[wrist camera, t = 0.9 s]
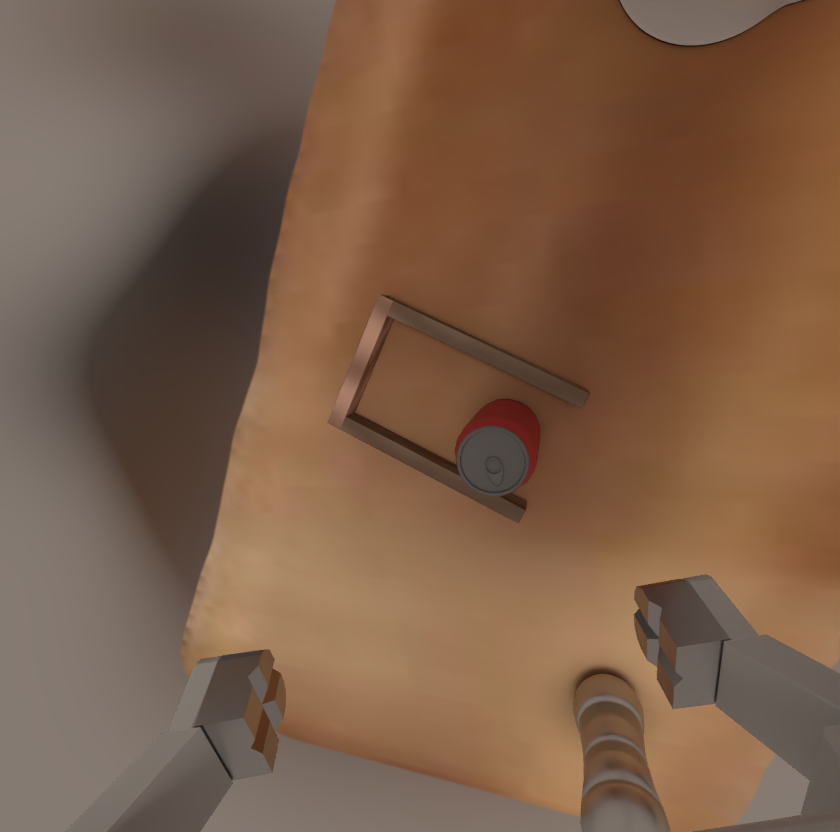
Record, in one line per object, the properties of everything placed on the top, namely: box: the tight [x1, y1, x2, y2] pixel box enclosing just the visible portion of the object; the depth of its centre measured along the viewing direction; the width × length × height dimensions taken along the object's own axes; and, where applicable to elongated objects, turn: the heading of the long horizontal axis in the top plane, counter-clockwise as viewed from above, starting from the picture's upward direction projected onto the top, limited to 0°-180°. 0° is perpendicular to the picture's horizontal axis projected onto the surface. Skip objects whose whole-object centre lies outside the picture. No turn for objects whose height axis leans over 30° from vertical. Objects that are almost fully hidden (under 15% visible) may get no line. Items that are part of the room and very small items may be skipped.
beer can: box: [455, 399, 540, 496], centre depth 44 cm, size 7×7×12 cm
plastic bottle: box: [573, 674, 670, 832], centre depth 42 cm, size 6×7×20 cm
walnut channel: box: [328, 294, 590, 523], centre depth 49 cm, size 14×22×2 cm, turn 66°
